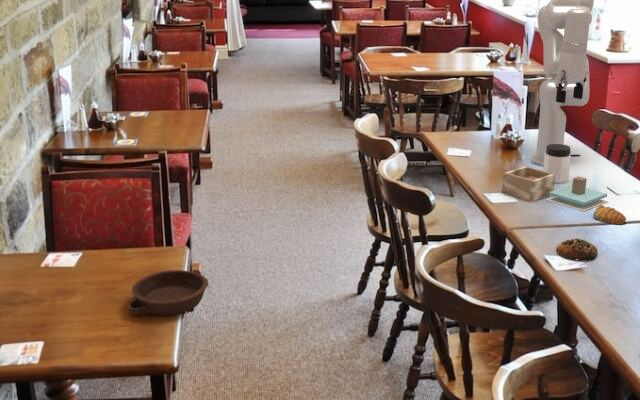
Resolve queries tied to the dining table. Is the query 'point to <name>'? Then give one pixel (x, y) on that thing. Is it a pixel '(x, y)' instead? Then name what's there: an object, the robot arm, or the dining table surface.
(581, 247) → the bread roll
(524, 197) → the box
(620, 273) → the dining table surface
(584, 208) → the mat
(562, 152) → the jar
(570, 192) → the lid
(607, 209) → the pastry
